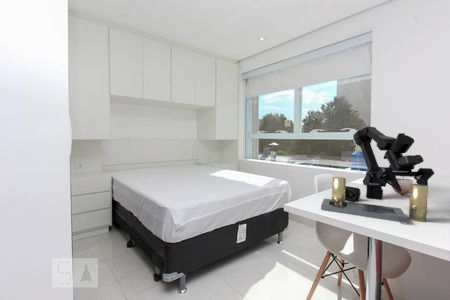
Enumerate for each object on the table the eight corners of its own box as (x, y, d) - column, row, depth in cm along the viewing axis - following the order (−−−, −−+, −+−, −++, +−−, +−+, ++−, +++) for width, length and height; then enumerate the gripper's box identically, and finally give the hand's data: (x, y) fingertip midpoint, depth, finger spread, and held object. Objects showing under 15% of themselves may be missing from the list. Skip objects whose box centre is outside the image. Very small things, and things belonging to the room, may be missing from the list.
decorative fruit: (398, 197, 115) (398, 178, 115) (388, 193, 123) (389, 175, 123) (418, 198, 114) (419, 178, 113) (407, 194, 122) (408, 176, 122)
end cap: (360, 201, 108) (361, 187, 108) (354, 203, 104) (355, 189, 103) (339, 196, 116) (339, 183, 115) (332, 199, 111) (333, 185, 111)
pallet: (320, 211, 92) (321, 205, 92) (324, 203, 103) (324, 198, 103) (406, 224, 79) (407, 217, 78) (400, 214, 89) (400, 208, 89)
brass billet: (410, 220, 83) (412, 185, 82) (407, 216, 87) (409, 183, 86) (428, 223, 80) (430, 187, 80) (424, 218, 85) (426, 184, 84)
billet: (331, 209, 94) (332, 178, 93) (331, 205, 98) (332, 176, 97) (344, 211, 91) (345, 179, 90) (344, 207, 96) (345, 177, 95)
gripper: (381, 147, 91) (397, 179, 81) (432, 148, 89) (455, 180, 78) (370, 164, 99) (384, 195, 89) (416, 165, 97) (436, 197, 87)
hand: (413, 191), depth 86 cm, fingers open, 9 cm apart
